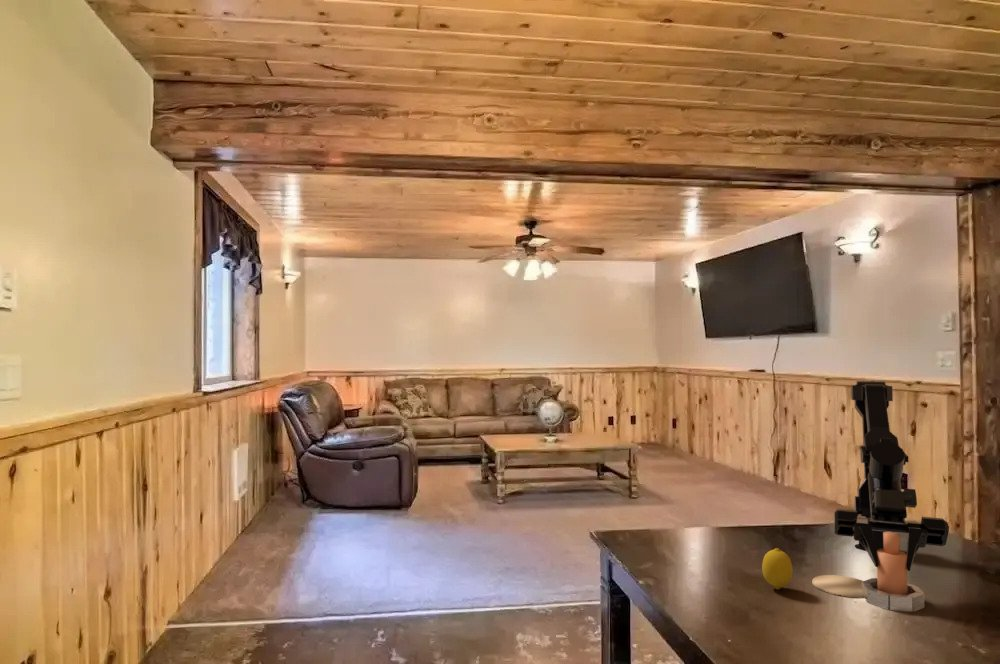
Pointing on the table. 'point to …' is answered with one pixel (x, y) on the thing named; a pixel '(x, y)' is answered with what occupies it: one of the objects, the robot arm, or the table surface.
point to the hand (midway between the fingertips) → (892, 567)
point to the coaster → (839, 585)
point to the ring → (893, 597)
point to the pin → (892, 566)
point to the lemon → (777, 568)
